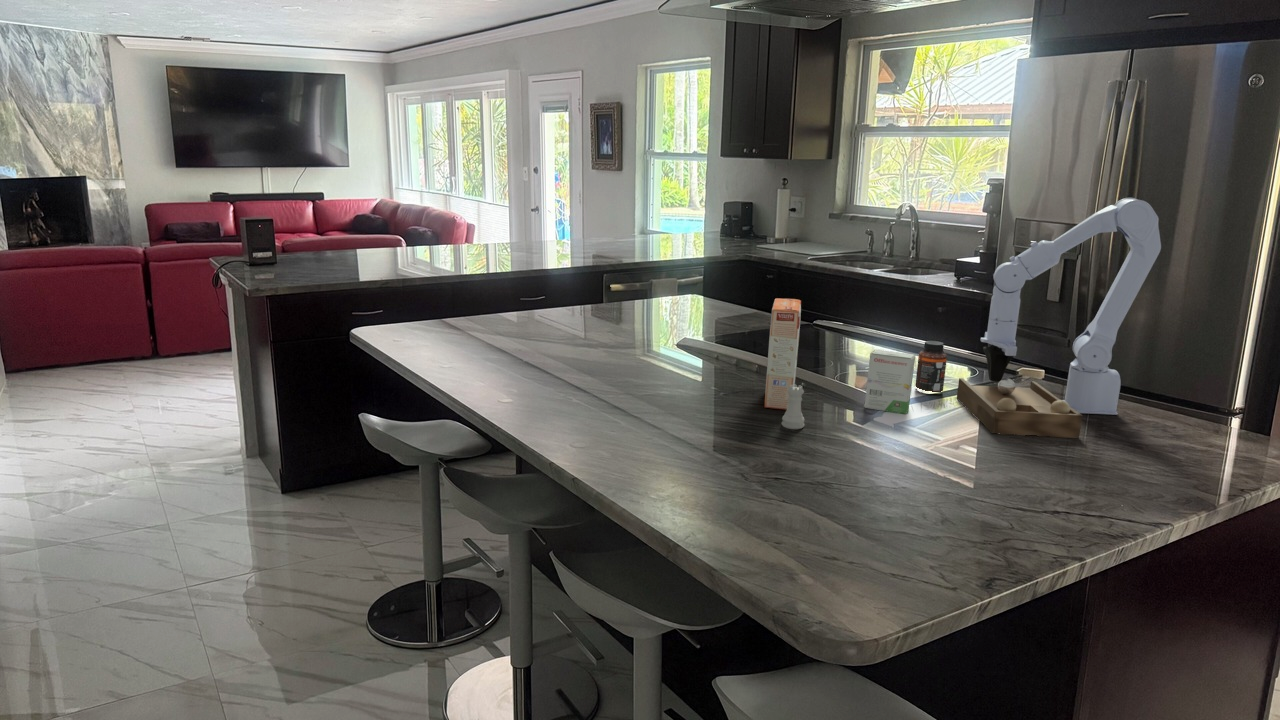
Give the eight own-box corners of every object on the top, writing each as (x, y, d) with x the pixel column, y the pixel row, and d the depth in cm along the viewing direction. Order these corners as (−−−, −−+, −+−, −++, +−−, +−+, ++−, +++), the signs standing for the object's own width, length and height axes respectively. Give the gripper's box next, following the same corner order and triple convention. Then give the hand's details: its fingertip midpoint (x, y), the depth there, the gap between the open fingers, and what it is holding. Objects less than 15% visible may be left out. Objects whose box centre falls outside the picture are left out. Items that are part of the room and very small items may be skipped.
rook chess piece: (806, 424, 166) (809, 384, 164) (802, 431, 162) (805, 390, 160) (783, 421, 168) (786, 382, 166) (779, 428, 164) (782, 388, 162)
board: (1031, 401, 186) (1034, 381, 185) (1078, 438, 163) (1082, 415, 161) (956, 398, 187) (959, 378, 186) (992, 434, 164) (995, 411, 162)
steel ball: (1010, 392, 181) (1013, 376, 180) (1016, 396, 178) (1018, 381, 177) (994, 391, 181) (996, 376, 181) (999, 396, 178) (1002, 380, 177)
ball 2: (1064, 415, 166) (1066, 398, 166) (1071, 420, 163) (1074, 403, 162) (1046, 414, 167) (1048, 397, 166) (1053, 419, 163) (1055, 402, 163)
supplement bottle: (944, 396, 188) (950, 346, 185) (916, 394, 189) (921, 344, 186) (940, 389, 193) (946, 340, 190) (913, 387, 194) (918, 338, 192)
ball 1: (1011, 412, 167) (1013, 396, 166) (1017, 418, 164) (1020, 401, 163) (993, 411, 167) (995, 395, 166) (999, 417, 164) (1001, 400, 163)
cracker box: (793, 411, 174) (800, 310, 169) (763, 408, 175) (770, 308, 170) (795, 392, 188) (802, 298, 182) (767, 390, 189) (773, 296, 184)
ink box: (863, 408, 178) (869, 353, 175) (868, 402, 182) (873, 348, 179) (906, 414, 174) (912, 358, 171) (910, 408, 179) (916, 353, 176)
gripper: (973, 311, 190) (966, 371, 194) (995, 325, 176) (986, 388, 179) (1006, 313, 190) (998, 372, 193) (1030, 326, 176) (1021, 390, 179)
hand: (994, 380), depth 186 cm, fingers closed
